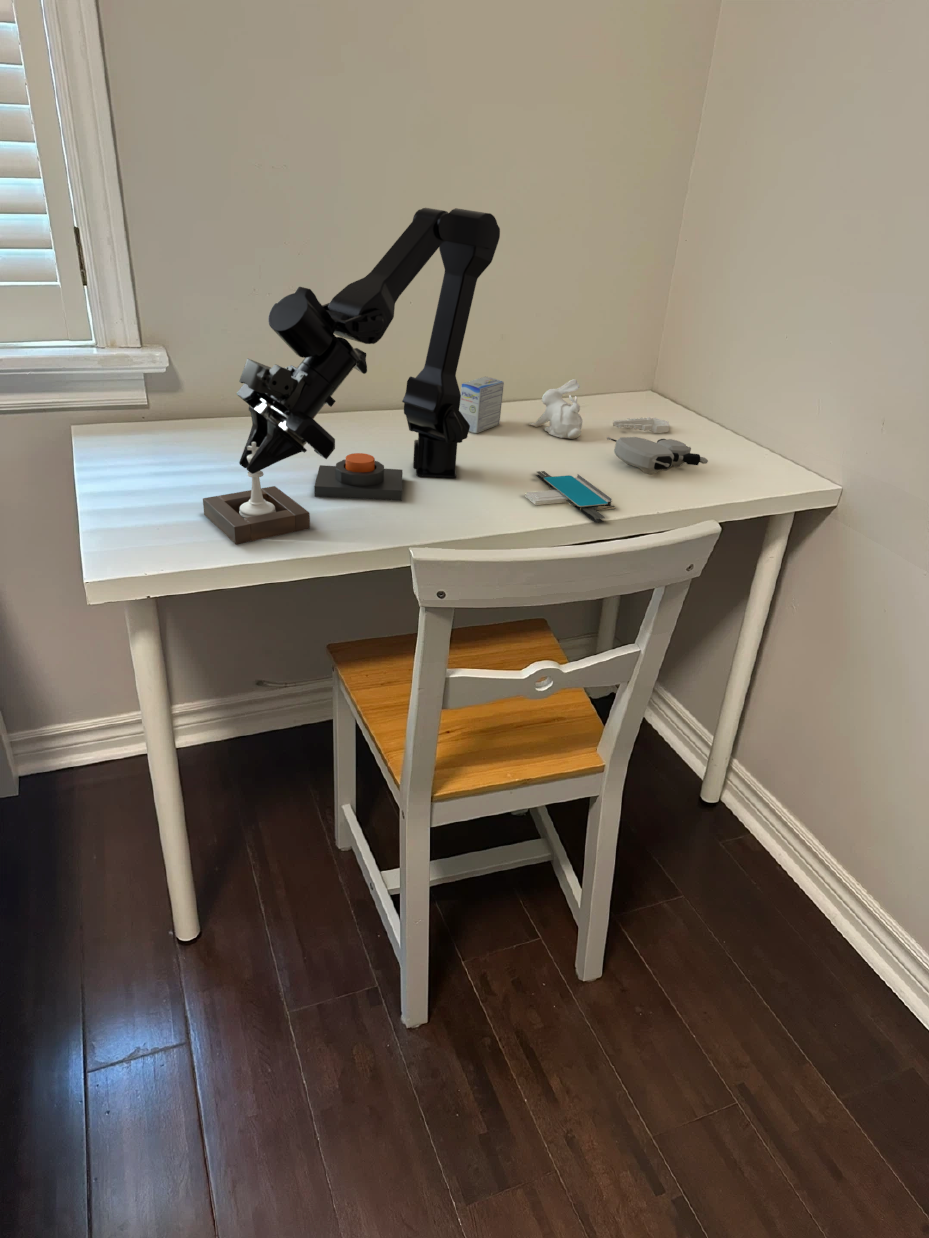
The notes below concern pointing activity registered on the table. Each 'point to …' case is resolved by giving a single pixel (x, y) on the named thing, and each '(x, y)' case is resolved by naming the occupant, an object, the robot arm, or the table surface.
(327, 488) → the push button base
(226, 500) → the frame
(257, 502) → the chess piece
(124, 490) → the table surface
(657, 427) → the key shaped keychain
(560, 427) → the rabbit figurine
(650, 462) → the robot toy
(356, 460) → the orange push button
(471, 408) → the medicine box
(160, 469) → the table surface
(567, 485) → the phone stand
